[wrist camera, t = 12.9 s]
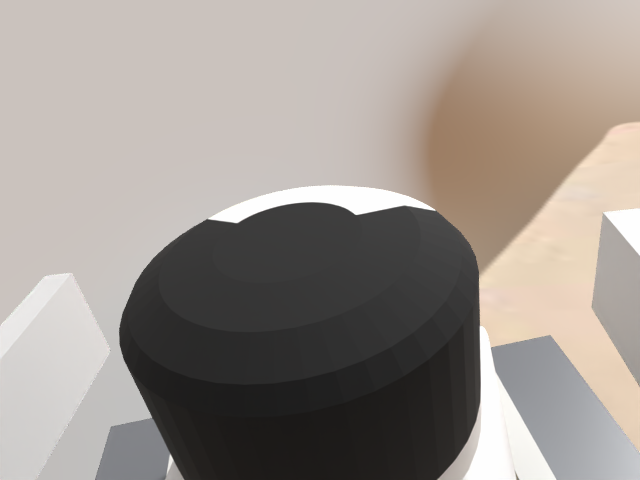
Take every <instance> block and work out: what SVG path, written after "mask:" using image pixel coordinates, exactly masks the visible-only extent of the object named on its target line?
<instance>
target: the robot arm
mask: <svg viewBox="0 0 640 480" xmlns="http://www.w3.org/2000/svg"><path fill="white" fill-rule="evenodd" d="M592 309H593V311H594V312H595V314H596V316H597V317H598V319H599V321H600V322H601V324H602V326H603V327H604V329H605V330H606V332H607V334H608V335H609V337H610V339H611V340H612V342H613V344H614V345H615V347H616V349H617V350H618V352H619V354H620V355H621V357H622V358H623V360H624V362H625V363H626V365H627V367H628V368H629V370H630V372H631V373H632V375H633V377H634V378H635V380H636V382H637V383H638V385H639V386H640V208H637V209H628V210H619V211H610V212H603V217H602V225H601V234H600V242H599V250H598V259H597V267H596V275H595V284H594V292H593V300H592ZM110 351H111V350H110V348H109V346H108V344H107V342H106V340H105V338H104V336H103V334H102V332H101V330H100V328H99V326H98V324H97V322H96V320H95V318H94V316H93V314H92V312H91V310H90V308H89V307H88V304H87V302H86V300H85V298H84V296H83V294H82V293H81V290H80V288H79V287H78V284H77V282H76V280H75V278H74V277H73V275H72V273H65V274H56V275H48V276H45V277H44V278H43V279H42V280H41V281H40V282H39V283H38V284H37V286H36V287H35V288H34V289H33V290H32V291H31V292H30V293H29V294H28V296H27V297H26V298H25V299H24V300H23V301H22V302H21V303H20V305H19V306H18V307H17V308H16V309H15V310H14V311H13V312H12V314H11V315H10V316H9V317H8V318H7V319H6V320H5V321H4V322H3V324H2V325H1V326H0V480H36V479H37V477H38V475H39V474H40V472H41V470H42V468H43V467H44V465H45V463H46V461H47V460H48V458H49V456H50V455H51V453H52V451H53V449H54V448H55V446H56V444H57V443H58V441H59V439H60V437H61V436H62V434H63V432H64V431H65V429H66V427H67V425H68V424H69V422H70V420H71V418H72V417H73V415H74V413H75V412H76V410H77V408H78V406H79V405H80V403H81V401H82V399H83V398H84V396H85V394H86V393H87V391H88V389H89V387H90V386H91V384H92V382H93V381H94V379H95V377H96V375H97V374H98V372H99V370H100V368H101V367H102V365H103V363H104V362H105V360H106V358H107V356H108V355H109V353H110Z"/></svg>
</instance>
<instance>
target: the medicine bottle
mask: <svg viewBox="0 0 640 480" xmlns="http://www.w3.org/2000/svg"><path fill="white" fill-rule="evenodd" d="M119 336H120V347H121V351H122V354H123V358H124V361H125V363H126V364H127V367H128V369H129V371H130V373H131V375H132V377H133V379H134V381H135V383H136V385H137V387H138V389H139V391H140V393H141V395H142V397H143V399H144V401H145V403H146V405H147V407H148V410H149V412H150V413H151V416H152V418H153V420H154V422H155V424H156V426H157V428H158V430H159V432H160V434H161V436H162V438H163V440H164V442H165V444H166V446H167V448H168V450H169V452H170V454H171V456H172V458H173V462H172V464H171V467H170V469H169V471H168V474H167V476H166V478H165V480H517V479H516V474H515V469H514V464H513V459H512V454H511V448H510V443H509V438H508V433H507V428H506V423H505V418H504V413H503V408H502V403H501V398H500V393H499V388H498V383H497V377H496V372H495V367H494V362H493V357H492V352H491V347H490V342H489V337H488V334H487V332H486V330H485V329H484V327H482V326H480V309H479V271H478V266H477V261H476V256H475V254H474V252H473V250H472V248H471V246H470V244H469V242H468V241H467V240H466V239H465V237H464V236H463V235H462V233H461V232H460V231H459V230H457V229H456V228H455V227H454V226H453V225H452V224H451V223H450V222H448V221H447V220H446V219H445V218H444V217H443V216H442V215H440V214H439V213H438V212H437V211H436V210H434V209H432V208H431V207H429V206H428V205H426V204H424V203H422V202H420V201H417V200H415V199H413V198H411V197H408V196H405V195H401V194H398V193H395V192H390V191H385V190H380V189H373V188H365V187H351V186H312V187H302V188H295V189H289V190H284V191H279V192H274V193H270V194H267V195H263V196H259V197H256V198H253V199H251V200H247V201H245V202H242V203H239V204H237V205H234V206H232V207H230V208H228V209H226V210H224V211H222V212H219V213H218V214H216V215H214V216H212V217H210V218H209V219H207V220H205V221H203V222H202V223H200V224H198V225H196V226H194V227H193V228H191V229H190V230H188V231H187V232H185V233H183V234H182V235H180V236H179V237H178V238H177V239H175V240H174V241H172V242H171V243H170V244H169V245H168V246H166V247H165V248H164V249H163V250H162V251H161V252H160V253H159V254H157V255H156V256H155V257H154V258H153V259H152V261H151V262H150V263H149V264H148V265H147V267H146V268H145V269H144V270H143V272H142V273H141V275H140V277H139V278H138V280H137V281H136V283H135V285H134V288H133V290H132V293H131V295H130V297H129V299H128V302H127V304H126V307H125V309H124V311H123V314H122V319H121V323H120V328H119Z"/></svg>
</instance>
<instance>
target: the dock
mask: <svg viewBox="0 0 640 480" xmlns="http://www.w3.org/2000/svg"><path fill="white" fill-rule="evenodd" d="M491 352H492V357H493V362H494V367H495V372H496V377H497V383H498V388H499V393H500V398H501V403H502V408H503V413H504V418H505V423H506V428H507V433H508V438H509V443H510V448H511V454H512V459H513V464H514V469H515V474H516V479H517V480H640V453H639V451H638V450H637V449H636V447H635V446H634V445H633V443H632V442H631V441H630V439H629V438H628V437H627V435H626V434H625V433H624V431H623V430H622V429H621V428H620V426H619V425H618V424H617V422H616V421H615V420H614V418H613V417H612V416H611V414H610V413H609V412H608V410H607V409H606V408H605V406H604V405H603V404H602V402H601V401H600V400H599V399H598V397H597V396H596V395H595V393H594V392H593V391H592V389H591V388H590V387H589V385H588V384H587V383H586V381H585V380H584V379H583V377H582V376H581V375H580V373H579V372H578V371H577V370H576V368H575V367H574V366H573V364H572V363H571V362H570V360H569V359H568V358H567V356H566V355H565V354H564V352H563V351H562V350H561V348H560V347H559V346H558V344H557V343H556V342H555V341H554V339H553V338H552V337H551V335H549V336H544V337H539V338H534V339H530V340H525V341H520V342H515V343H510V344H506V345H501V346H496V347H491ZM172 462H173V458H172V456H171V454H170V452H169V450H168V448H167V446H166V444H165V442H164V440H163V438H162V436H161V434H160V432H159V430H158V428H157V426H156V424H155V422H154V420H153V418H150V419H146V420H141V421H136V422H131V423H127V424H122V425H117V426H112V427H111V429H110V432H109V435H108V439H107V442H106V445H105V448H104V452H103V455H102V459H101V462H100V465H99V468H98V472H97V475H96V479H95V480H165V478H166V476H167V474H168V471H169V469H170V467H171V464H172Z"/></svg>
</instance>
